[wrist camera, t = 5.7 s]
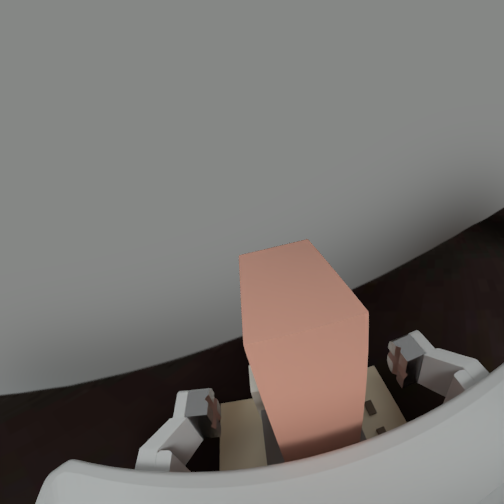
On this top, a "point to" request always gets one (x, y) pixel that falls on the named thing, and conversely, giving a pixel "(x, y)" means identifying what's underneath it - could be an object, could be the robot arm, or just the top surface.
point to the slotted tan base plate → (263, 438)
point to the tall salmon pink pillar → (305, 348)
